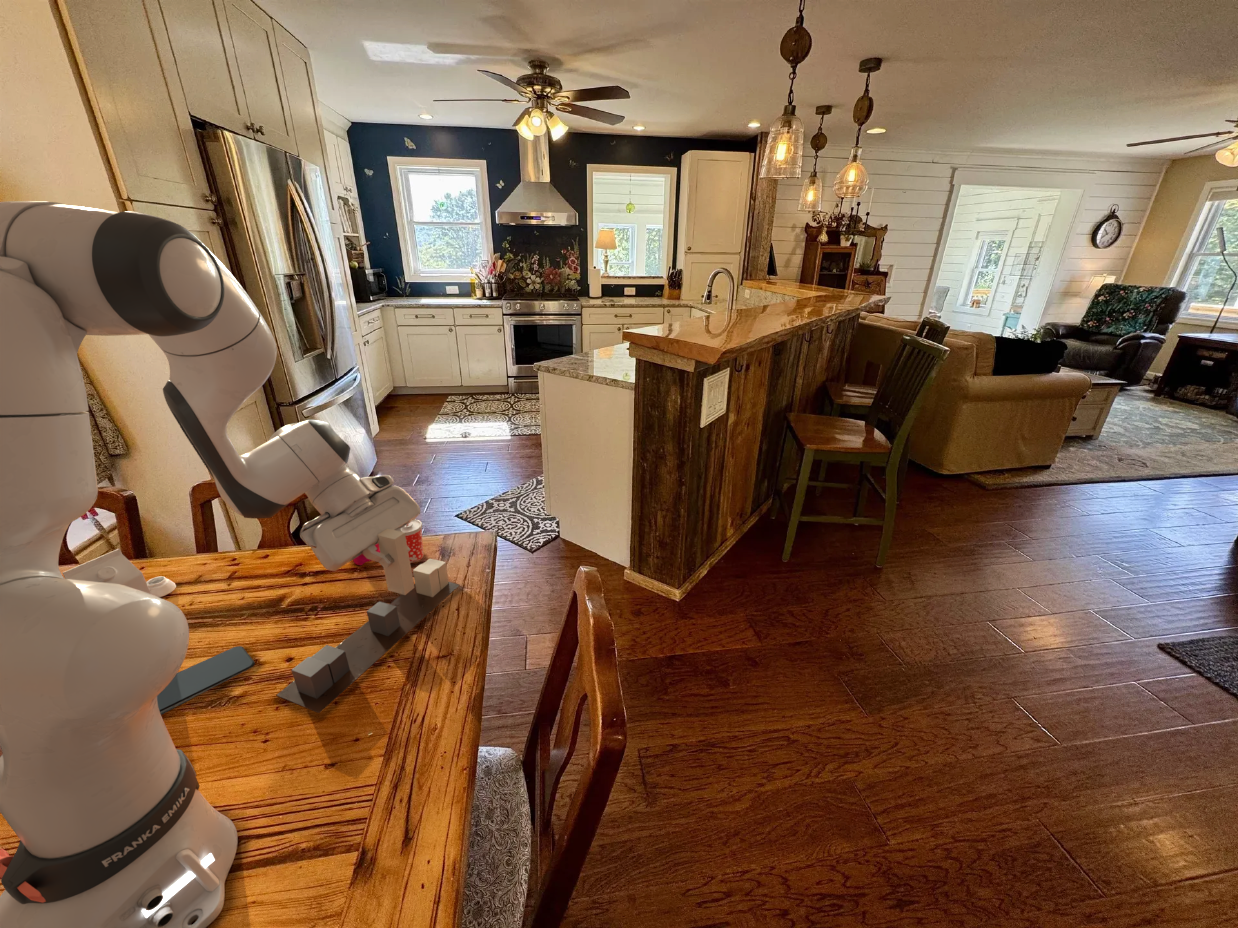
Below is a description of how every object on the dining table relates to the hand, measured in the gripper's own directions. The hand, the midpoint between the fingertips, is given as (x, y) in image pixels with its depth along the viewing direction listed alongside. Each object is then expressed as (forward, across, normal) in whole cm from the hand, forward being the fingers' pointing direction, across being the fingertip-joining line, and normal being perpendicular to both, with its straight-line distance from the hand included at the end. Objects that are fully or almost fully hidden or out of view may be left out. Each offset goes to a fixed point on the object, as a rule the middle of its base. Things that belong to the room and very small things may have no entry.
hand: (398, 559), depth 89 cm
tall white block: (+4, 0, +5) cm, 7 cm away
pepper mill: (-7, +12, +25) cm, 29 cm away
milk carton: (-17, -25, +35) cm, 46 cm away
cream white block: (+8, +8, +9) cm, 14 cm away
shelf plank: (+9, -6, +10) cm, 14 cm away
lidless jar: (-27, -13, +46) cm, 55 cm away
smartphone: (-5, -26, +23) cm, 35 cm away
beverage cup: (0, +15, +18) cm, 24 cm away
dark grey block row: (+8, -12, +9) cm, 17 cm away
